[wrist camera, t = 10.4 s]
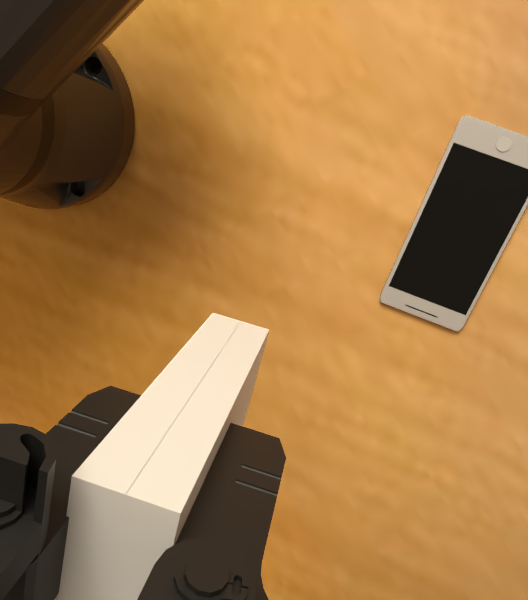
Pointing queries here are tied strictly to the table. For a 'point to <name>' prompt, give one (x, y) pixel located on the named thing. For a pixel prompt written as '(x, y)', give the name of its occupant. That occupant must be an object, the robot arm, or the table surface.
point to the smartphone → (461, 224)
